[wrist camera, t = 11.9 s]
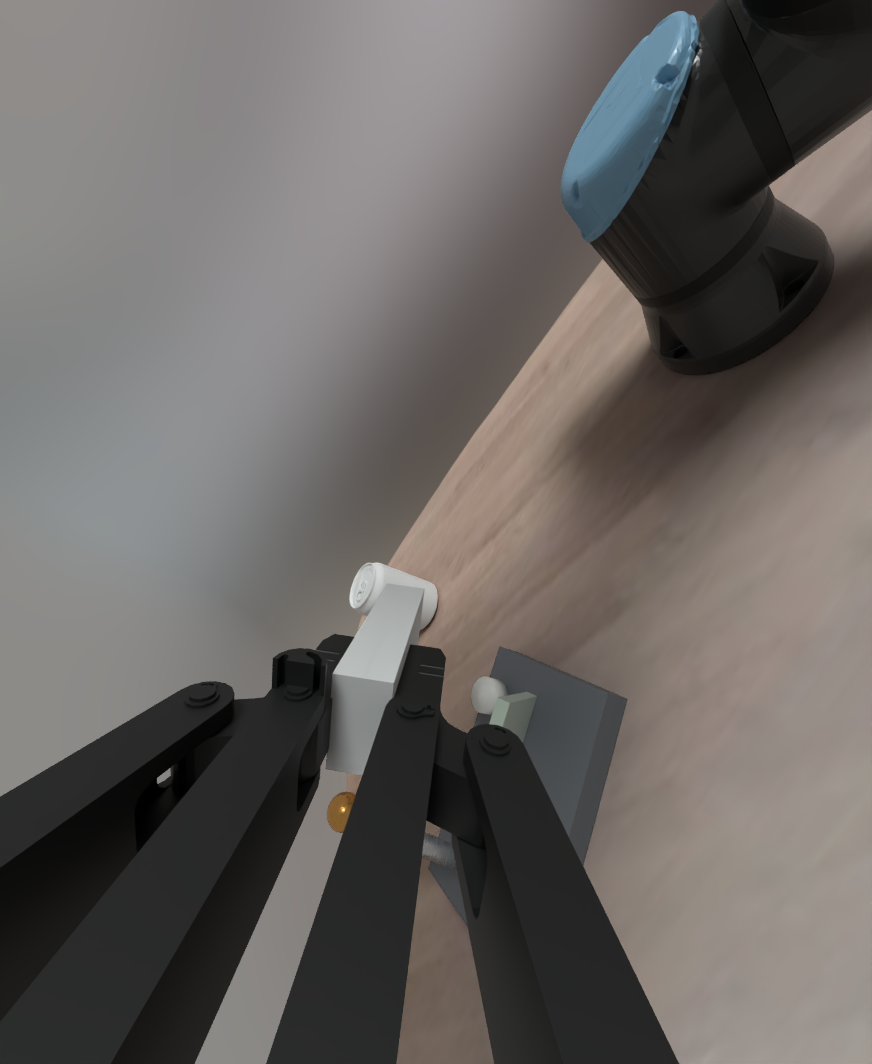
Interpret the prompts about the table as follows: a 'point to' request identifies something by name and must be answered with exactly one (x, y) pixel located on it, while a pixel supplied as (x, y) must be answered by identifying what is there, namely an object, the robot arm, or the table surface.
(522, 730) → the sage paddle
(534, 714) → the switch panel
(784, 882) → the table surface
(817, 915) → the table surface
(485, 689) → the white push button
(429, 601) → the beverage can
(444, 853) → the steel toggle lever
